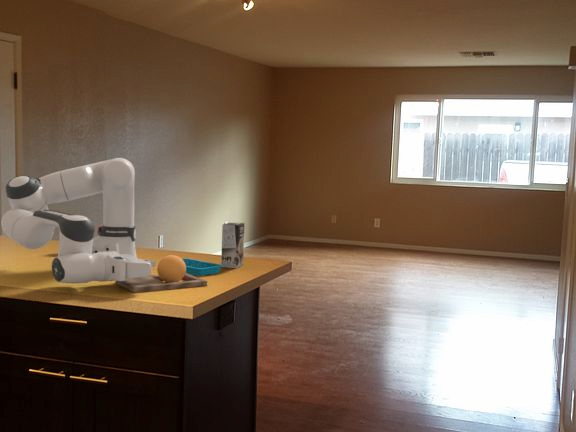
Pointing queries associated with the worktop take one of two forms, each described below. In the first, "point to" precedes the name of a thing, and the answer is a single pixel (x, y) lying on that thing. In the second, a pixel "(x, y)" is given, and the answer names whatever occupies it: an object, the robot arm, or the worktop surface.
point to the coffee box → (232, 245)
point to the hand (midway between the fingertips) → (153, 263)
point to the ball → (171, 268)
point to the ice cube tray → (201, 267)
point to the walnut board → (159, 283)
